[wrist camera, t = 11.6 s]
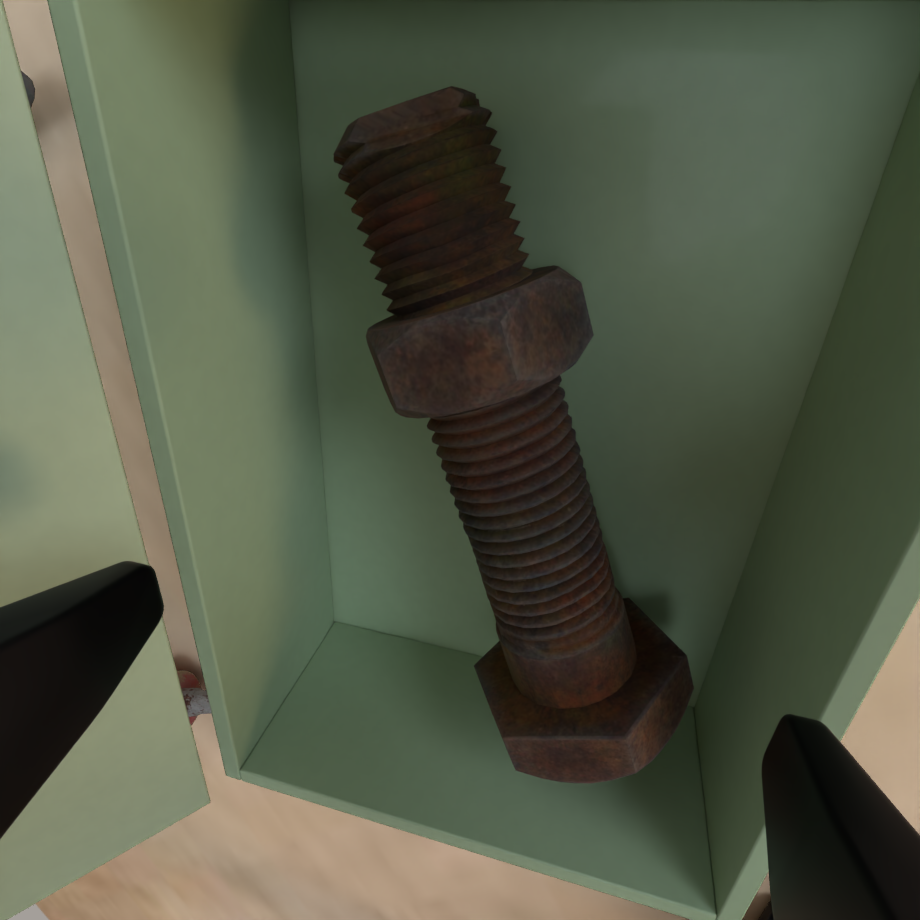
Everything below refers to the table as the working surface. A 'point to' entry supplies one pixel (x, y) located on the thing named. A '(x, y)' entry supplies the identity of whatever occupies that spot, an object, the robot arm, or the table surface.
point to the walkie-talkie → (29, 88)
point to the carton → (585, 384)
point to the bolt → (507, 440)
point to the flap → (72, 539)
